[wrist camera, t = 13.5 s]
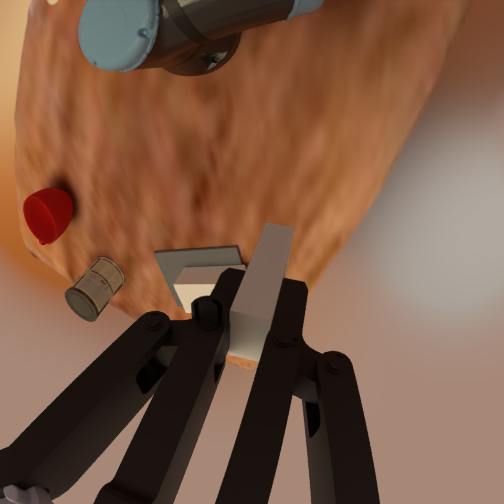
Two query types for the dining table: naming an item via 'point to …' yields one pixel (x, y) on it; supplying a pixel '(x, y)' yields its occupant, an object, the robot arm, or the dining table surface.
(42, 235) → the ceramic cup
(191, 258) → the charcoal mat
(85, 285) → the coffee can
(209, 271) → the cream block
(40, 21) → the dining table surface
